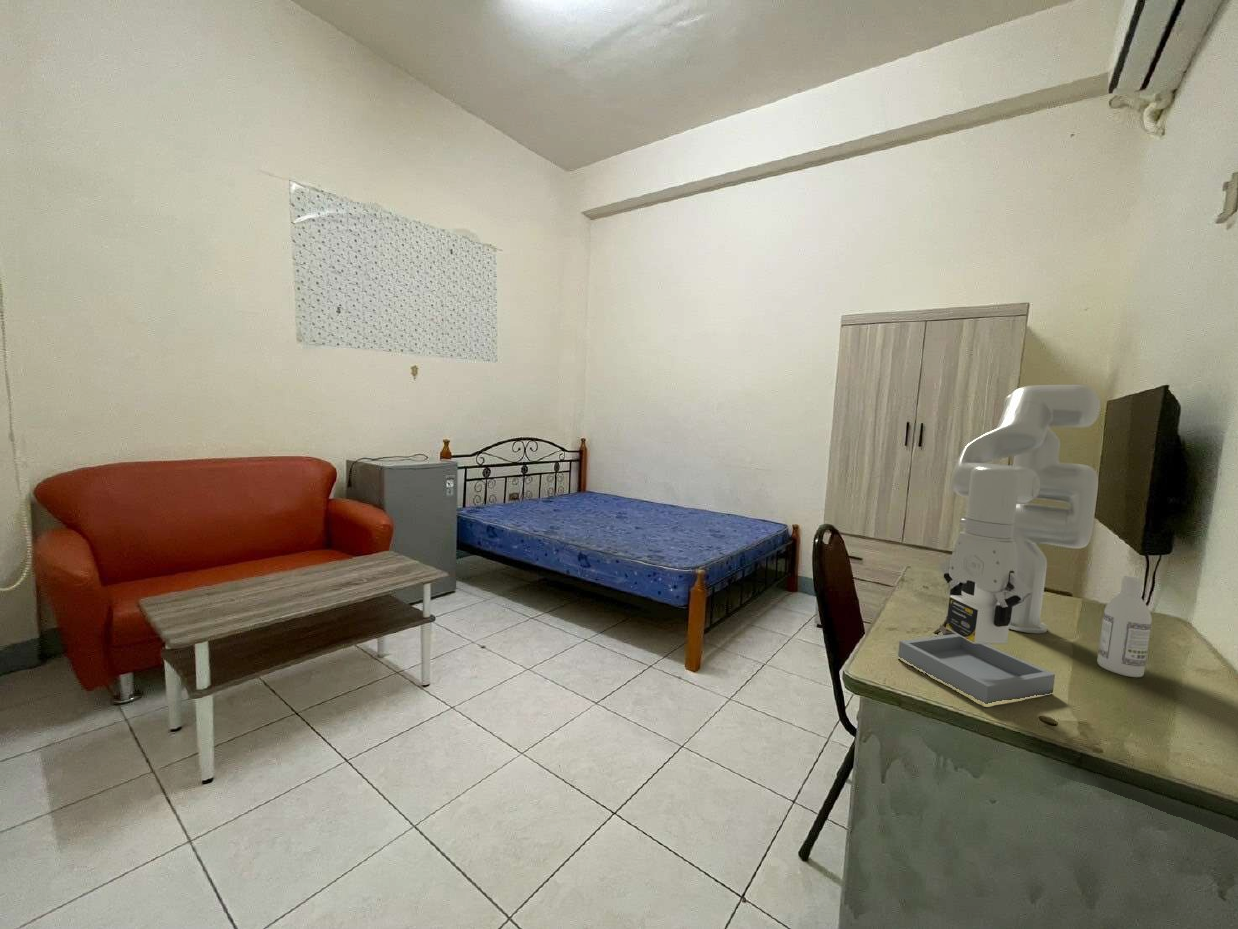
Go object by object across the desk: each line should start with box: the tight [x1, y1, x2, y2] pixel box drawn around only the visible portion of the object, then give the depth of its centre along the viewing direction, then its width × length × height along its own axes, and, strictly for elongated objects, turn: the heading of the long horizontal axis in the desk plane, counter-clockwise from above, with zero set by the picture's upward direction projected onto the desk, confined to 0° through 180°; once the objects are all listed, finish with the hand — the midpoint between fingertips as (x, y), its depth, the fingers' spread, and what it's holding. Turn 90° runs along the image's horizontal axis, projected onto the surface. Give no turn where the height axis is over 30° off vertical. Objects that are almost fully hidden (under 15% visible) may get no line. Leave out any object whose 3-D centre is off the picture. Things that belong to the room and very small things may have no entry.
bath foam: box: [1096, 575, 1153, 678], centre depth 102 cm, size 7×7×20 cm
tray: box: [897, 634, 1056, 704], centre depth 97 cm, size 18×18×4 cm
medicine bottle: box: [946, 580, 1010, 645], centre depth 96 cm, size 7×7×12 cm
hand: (977, 616), depth 96 cm, fingers closed on medicine bottle, 8 cm apart
